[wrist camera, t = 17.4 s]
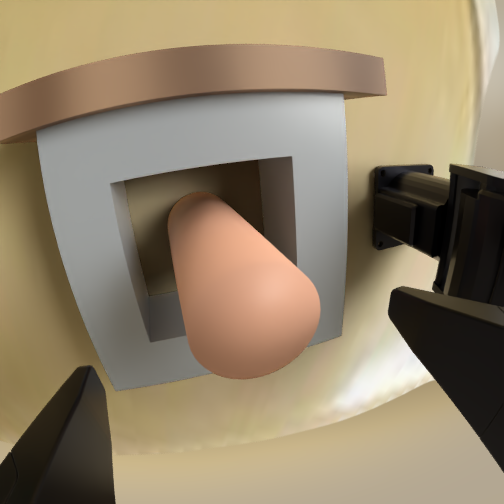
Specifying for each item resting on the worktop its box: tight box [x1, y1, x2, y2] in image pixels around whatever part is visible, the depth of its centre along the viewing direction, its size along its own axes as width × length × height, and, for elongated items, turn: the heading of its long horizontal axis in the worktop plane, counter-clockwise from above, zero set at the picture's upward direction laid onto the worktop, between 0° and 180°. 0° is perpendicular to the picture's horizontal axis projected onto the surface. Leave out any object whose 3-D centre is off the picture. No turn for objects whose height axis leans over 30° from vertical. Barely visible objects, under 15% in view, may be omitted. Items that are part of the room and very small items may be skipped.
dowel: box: [167, 192, 321, 379], centre depth 13 cm, size 4×4×11 cm
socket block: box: [36, 92, 348, 391], centre depth 16 cm, size 14×14×5 cm
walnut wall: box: [0, 44, 387, 144], centre depth 13 cm, size 18×2×6 cm, turn 95°
